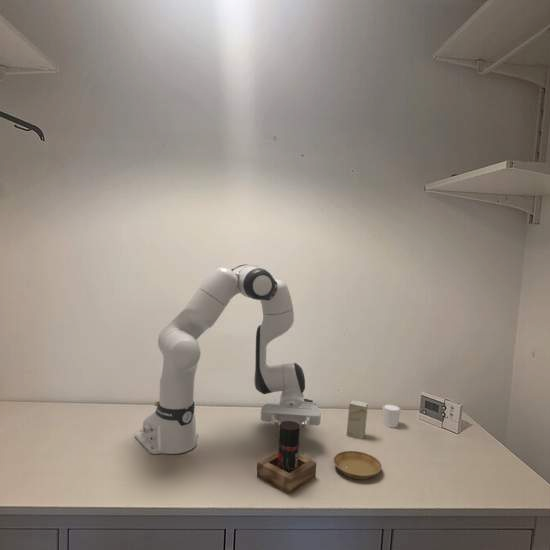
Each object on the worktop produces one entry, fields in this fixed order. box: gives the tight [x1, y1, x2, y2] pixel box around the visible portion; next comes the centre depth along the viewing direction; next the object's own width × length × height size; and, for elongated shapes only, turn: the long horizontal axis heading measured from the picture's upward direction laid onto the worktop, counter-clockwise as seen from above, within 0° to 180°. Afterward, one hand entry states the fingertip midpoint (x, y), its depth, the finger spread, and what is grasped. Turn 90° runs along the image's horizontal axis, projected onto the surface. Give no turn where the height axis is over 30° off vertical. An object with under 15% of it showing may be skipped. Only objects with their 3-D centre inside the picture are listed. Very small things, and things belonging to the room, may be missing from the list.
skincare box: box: [346, 399, 369, 440], centre depth 157 cm, size 6×4×12 cm
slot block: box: [256, 450, 317, 496], centre depth 127 cm, size 12×12×4 cm
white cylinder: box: [382, 403, 401, 428], centre depth 168 cm, size 7×7×7 cm
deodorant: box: [277, 421, 301, 473], centre depth 126 cm, size 6×6×15 cm
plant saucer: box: [333, 450, 382, 480], centre depth 134 cm, size 15×15×3 cm
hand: (289, 424), depth 139 cm, fingers open, 8 cm apart
